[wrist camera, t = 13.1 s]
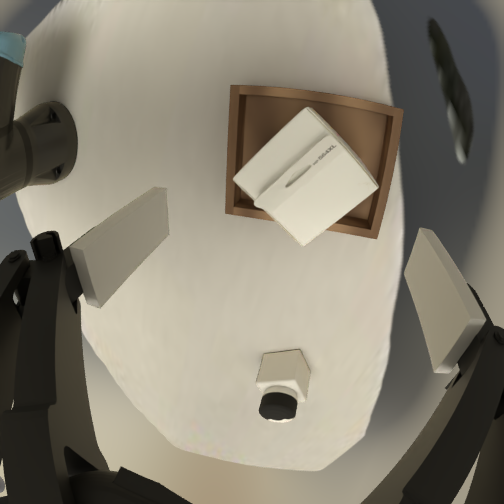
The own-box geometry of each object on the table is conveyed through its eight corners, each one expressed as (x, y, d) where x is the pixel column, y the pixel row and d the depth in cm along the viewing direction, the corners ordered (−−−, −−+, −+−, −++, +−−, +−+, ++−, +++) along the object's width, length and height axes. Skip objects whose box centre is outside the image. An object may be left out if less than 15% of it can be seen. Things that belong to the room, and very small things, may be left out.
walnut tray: (234, 202, 37) (225, 213, 34) (240, 86, 29) (230, 84, 26) (372, 225, 34) (376, 239, 31) (394, 108, 26) (403, 109, 23)
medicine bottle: (263, 353, 50) (247, 407, 40) (300, 348, 48) (290, 405, 38) (276, 375, 53) (264, 426, 43) (310, 371, 50) (303, 425, 40)
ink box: (309, 204, 34) (299, 262, 23) (259, 155, 32) (221, 188, 21) (362, 158, 30) (386, 195, 18) (311, 104, 28) (303, 104, 17)
